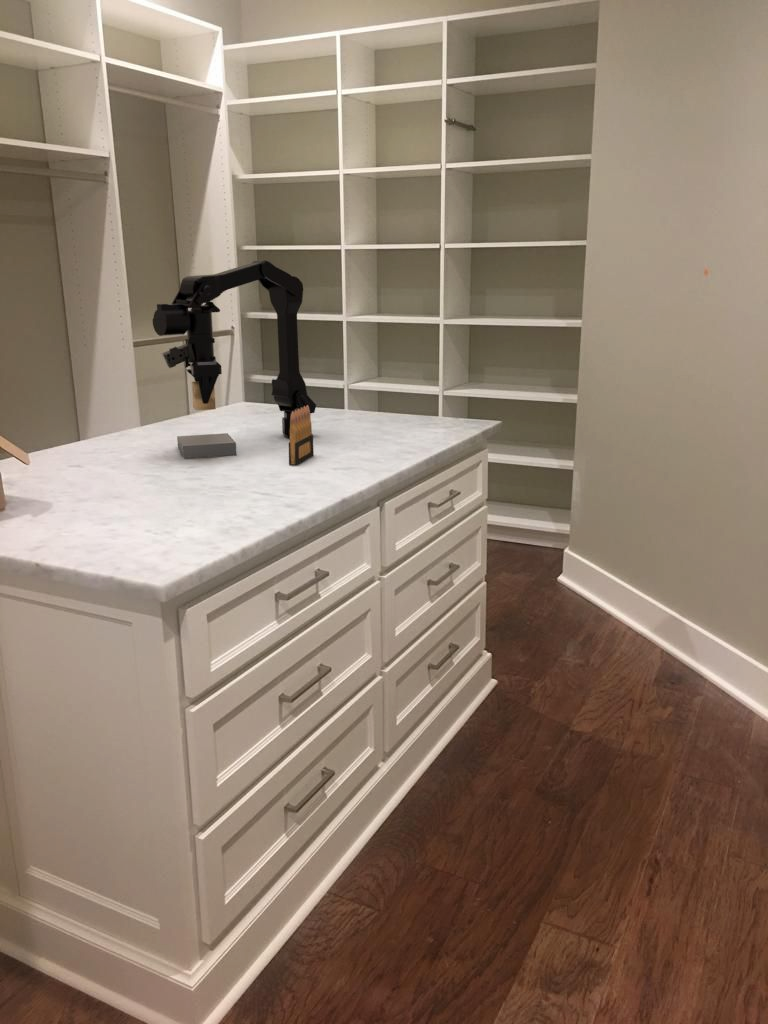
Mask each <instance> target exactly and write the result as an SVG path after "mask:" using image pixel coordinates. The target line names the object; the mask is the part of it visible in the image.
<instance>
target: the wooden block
mask: <svg viewBox="0 0 768 1024" xmlns="http://www.w3.org/2000/svg"><path fill="white" fill-rule="evenodd" d="M191 389H192V390H191V392H192V406H193V409H194V410H195V411H207V410H209V411H210V410H211V411H212V410H217V409H216V392H215V391H216V389H215V387H214V388H213V391H212V394H211V396H210V399H209V402H208V403H207V404H204V403H203V401H202V397H201V393H200V388H199V384H198V381H197V382H195V381H192V382H191Z"/></svg>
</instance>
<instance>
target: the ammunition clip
mask: <svg viewBox="0 0 768 1024" xmlns="http://www.w3.org/2000/svg"><path fill="white" fill-rule="evenodd" d="M311 418H312V417H311V414H310V409H309V406H308V405H307V406H306V407H305V406H304V407H303V408H302V407H301V409H299V408H298V410H295V412H293V411H292V413H291V418H290V438H289V442H288V465H289V466H294V467H296V466H300V465H301V464H302V463H305V462H306V461H307V460H309V459H311V458H313V457H314V456H315V455H314V434H313V432H312V431H313V430H312V421H311Z"/></svg>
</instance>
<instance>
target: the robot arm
mask: <svg viewBox="0 0 768 1024" xmlns="http://www.w3.org/2000/svg"><path fill="white" fill-rule="evenodd" d="M256 281H258V283H259V284H260V286H261V287H263V288H264V289H265V290H266V291H267V292H268V293H269V300H270V304H271V305H272V307H273V309H274V311H275V313H276V321H277V322H276V323H277V343H278V344H277V345H278V361H279V362H278V363H279V373H278V375H277V377H276V379H275V378H274V379H273V378H272V379H271V386H272V388H271V389H272V390H271V391H272V392H271V396H273V399H274V401H275V403H276V404H277V406H278V409H279V411H280V412H283V417H282V418H281V424H282V425H281V427H282V429H281V430H282V435H284V436H285V437H286V438H287V439H290V418H291V413H292V411H293V412H295V410H298V408H299V409H301V407H302V408H303V407H304V406H305V407H306V406H307V405H308V406H309V409H310V415H311V414H314V413H316V412H315V411H316V407H317V404H316V403H315V402H314V400H312V399H311V397H310V396H309V395H308V391H307V385H306V381H305V380H304V378H303V376H302V374H301V372H300V358H299V357H300V356H299V355H300V354H299V352H300V351H299V332H298V312H299V309H301V306H302V303H303V297H304V284H303V282H302V281H301V280H300V279H299V277H297V276H293V275H291V274H290V273H288V272H287V271H284V270H283V269H281V268H280V267H277V266H275V265H274V264H273V263H272V262H270V261H268V260H254V261H252V262H250V263H247V264H244V265H240V266H237V267H233V268H231V269H227V270H225V271H221V272H219V273H218V272H217V273H215V274H214V273H213V274H198V275H187V276H185V277H183V278H182V279H181V282H180V287H179V289H178V292H177V294H176V295H175V297H174V299H173V300H172V302H171V304H170V303H169V304H167V303H157V304H156V310H155V312H154V314H153V317H152V326H153V329H154V332H155V333H156V334H157V335H158V336H161V337H162V336H164V337H165V336H178V335H185V334H187V337H186V338H185V339H184V341H185V342H184V343H185V344H182V345H179V346H173V347H172V348H169V349H168V350H167V351H164V352H163V353H162V357H163V359H164V360H165V363H166V366H167V367H168V368H169V369H171V368H174V367H176V366H177V365H180V364H182V363H183V367H184V368H187V369H186V372H188V374H190V376H192V377H193V380H194V382H197V381H198V384H199V388H200V393H201V397H202V401H203V403H204V404H207V403H208V402H209V399H210V396H211V394H212V391H213V388H214V389H215V386H216V384H217V383H216V382H217V380H218V377H219V376H220V375H222V374H223V373H222V364H220V363H219V362H218V361H217V360H216V359H217V358H216V356H215V350H214V349H215V347H214V344H215V343H216V341H215V338H214V331H213V314H212V313H220V312H221V309H220V308H219V307H218V306H216V304H214V301H213V300H216V299H217V298H219V297H220V296H221V295H222V294H223V293H224V292H226V291H228V290H230V289H235V288H237V287H240V286H243V285H246V284H250V283H252V282H256ZM188 368H189V369H188Z"/></svg>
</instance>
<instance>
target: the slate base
mask: <svg viewBox="0 0 768 1024" xmlns="http://www.w3.org/2000/svg"><path fill="white" fill-rule="evenodd" d="M176 439H177V440H176V441H177V449H178V451H179V453H180V454H181V455H180V456H181V457H182V458H183V460H189V459H190V460H192V459H202V458H218V457H219V458H220V457H230V456H231V457H233V455H234V456H237V442H236V441H235V439H233V438H232V436H230V434H229V433H228V432H227V433H226V432H225V433H222V432H221V433H212V434H209V433H208V434H207V433H206V434H194V435H193V434H192V435H178V436H176Z"/></svg>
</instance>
